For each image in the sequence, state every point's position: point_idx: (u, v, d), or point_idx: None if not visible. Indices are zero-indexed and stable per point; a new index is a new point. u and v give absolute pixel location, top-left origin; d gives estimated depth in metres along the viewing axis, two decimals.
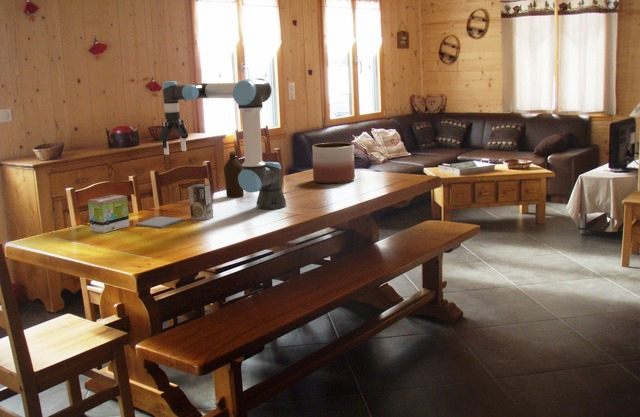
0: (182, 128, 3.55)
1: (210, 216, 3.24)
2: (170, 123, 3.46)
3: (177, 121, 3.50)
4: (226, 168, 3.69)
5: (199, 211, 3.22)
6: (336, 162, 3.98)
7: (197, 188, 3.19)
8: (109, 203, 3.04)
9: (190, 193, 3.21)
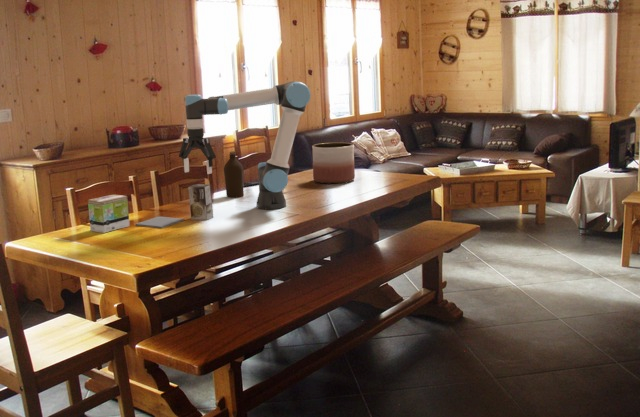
0: None
1: (210, 216, 3.24)
2: (189, 140, 3.18)
3: (198, 139, 3.15)
4: (226, 168, 3.69)
5: (199, 211, 3.22)
6: (336, 162, 3.98)
7: (197, 188, 3.19)
8: (109, 203, 3.04)
9: (190, 193, 3.21)
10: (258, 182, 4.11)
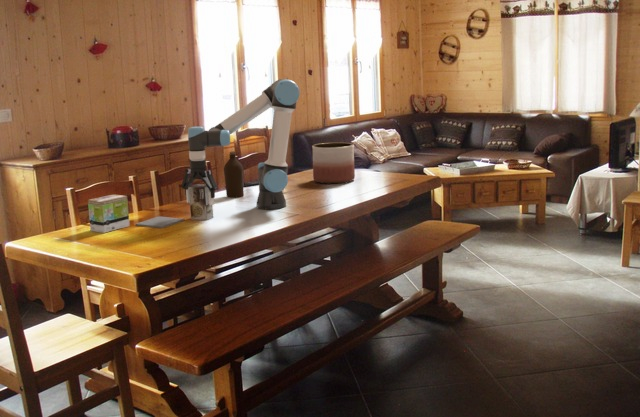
0: None
1: (210, 216, 3.24)
2: (191, 171, 3.21)
3: (200, 171, 3.19)
4: (226, 168, 3.69)
5: (199, 211, 3.22)
6: (336, 162, 3.98)
7: (197, 188, 3.19)
8: (109, 203, 3.04)
9: (190, 193, 3.21)
10: (258, 182, 4.10)
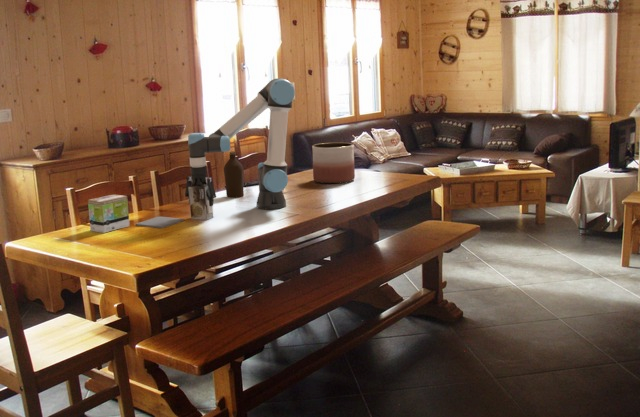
0: None
1: (210, 216, 3.24)
2: (192, 178, 3.22)
3: (201, 177, 3.19)
4: (226, 168, 3.69)
5: (199, 211, 3.22)
6: (336, 162, 3.98)
7: (197, 188, 3.19)
8: (109, 203, 3.04)
9: (190, 193, 3.21)
10: (258, 182, 4.10)
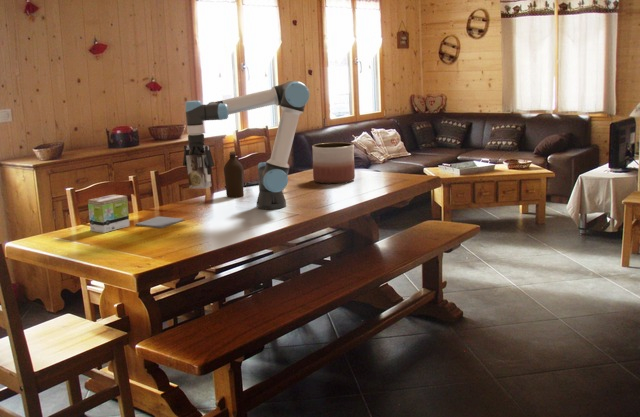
0: None
1: (208, 185, 3.21)
2: (190, 146, 3.19)
3: (199, 145, 3.16)
4: (226, 168, 3.69)
5: (197, 180, 3.19)
6: (336, 162, 3.98)
7: (195, 156, 3.16)
8: (109, 203, 3.04)
9: (188, 162, 3.18)
10: (258, 182, 4.10)
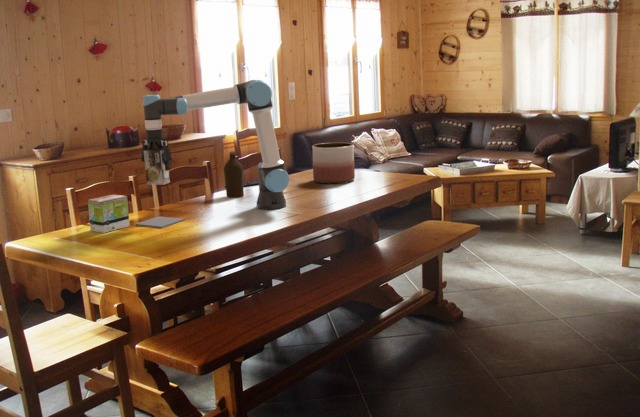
0: None
1: (166, 181, 3.14)
2: (148, 141, 3.12)
3: (157, 140, 3.09)
4: (226, 168, 3.69)
5: (155, 176, 3.11)
6: (336, 162, 3.98)
7: (152, 152, 3.09)
8: (109, 203, 3.04)
9: (145, 157, 3.11)
10: (258, 182, 4.10)
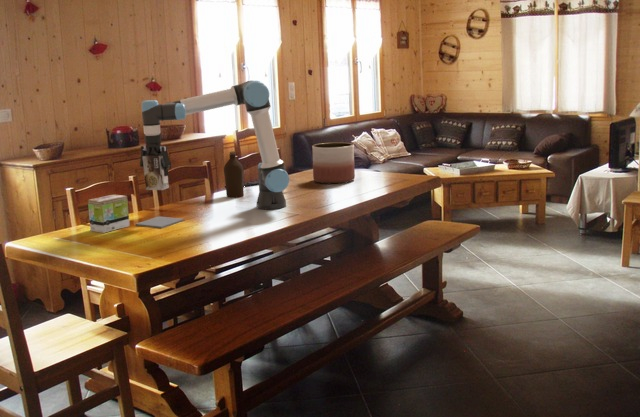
0: None
1: (165, 186, 3.14)
2: (146, 147, 3.12)
3: (155, 146, 3.09)
4: (226, 168, 3.69)
5: (154, 181, 3.12)
6: (336, 162, 3.98)
7: (151, 157, 3.09)
8: (109, 203, 3.04)
9: (144, 162, 3.11)
10: (258, 182, 4.10)
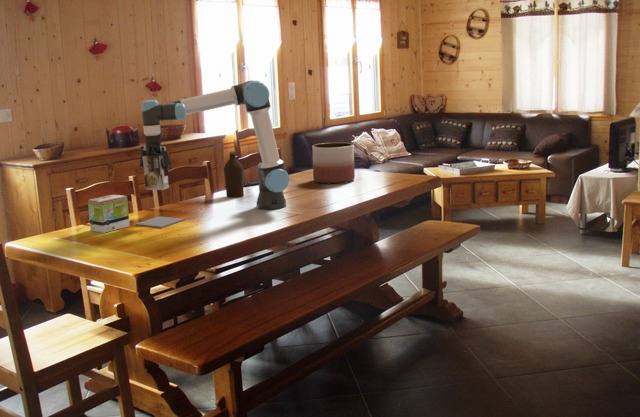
0: None
1: (165, 186, 3.14)
2: (146, 147, 3.12)
3: (155, 146, 3.09)
4: (226, 168, 3.69)
5: (154, 181, 3.12)
6: (336, 162, 3.98)
7: (151, 157, 3.09)
8: (109, 203, 3.04)
9: (144, 162, 3.11)
10: (258, 182, 4.10)
